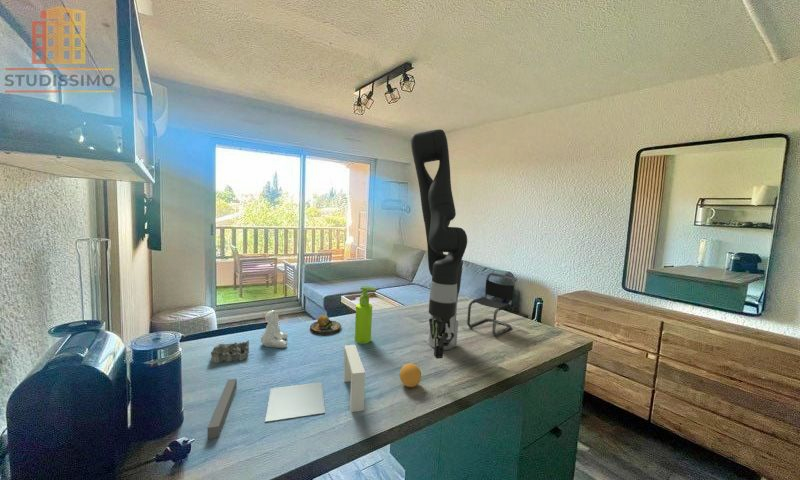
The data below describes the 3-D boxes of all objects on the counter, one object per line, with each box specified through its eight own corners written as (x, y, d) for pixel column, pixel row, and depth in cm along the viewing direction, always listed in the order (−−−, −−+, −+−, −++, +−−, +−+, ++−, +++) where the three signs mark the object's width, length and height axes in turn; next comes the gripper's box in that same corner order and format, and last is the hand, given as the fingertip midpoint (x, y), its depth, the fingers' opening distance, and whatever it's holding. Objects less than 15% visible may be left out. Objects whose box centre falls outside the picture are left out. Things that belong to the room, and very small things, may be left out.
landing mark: (321, 382, 84) (321, 382, 84) (325, 413, 72) (325, 412, 72) (270, 388, 80) (270, 388, 80) (264, 422, 68) (264, 421, 68)
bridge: (353, 377, 88) (355, 344, 87) (363, 410, 74) (365, 372, 73) (343, 378, 87) (344, 345, 86) (351, 412, 73) (352, 373, 72)
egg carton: (208, 365, 91) (208, 352, 90) (214, 354, 98) (214, 342, 97) (247, 361, 94) (247, 348, 94) (250, 350, 101) (250, 338, 101)
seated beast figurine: (287, 348, 103) (287, 314, 102) (259, 351, 100) (259, 316, 99) (287, 337, 112) (287, 305, 111) (261, 339, 109) (261, 306, 108)
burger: (345, 332, 119) (345, 314, 118) (315, 338, 113) (315, 318, 112) (334, 322, 129) (334, 305, 128) (306, 327, 123) (306, 309, 122)
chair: (514, 327, 133) (518, 278, 130) (493, 338, 121) (498, 283, 118) (487, 319, 142) (491, 272, 140) (466, 327, 130) (469, 276, 128)
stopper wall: (236, 387, 80) (236, 378, 80) (218, 437, 63) (218, 426, 63) (228, 388, 79) (228, 379, 79) (207, 439, 62) (207, 427, 62)
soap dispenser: (370, 344, 109) (373, 290, 107) (352, 342, 110) (354, 288, 108) (375, 338, 115) (377, 286, 113) (357, 335, 116) (359, 284, 114)
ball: (416, 378, 89) (417, 358, 88) (424, 390, 83) (425, 369, 83) (396, 380, 87) (397, 360, 87) (403, 393, 81) (404, 371, 81)
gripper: (466, 304, 80) (460, 368, 82) (445, 291, 93) (441, 346, 95) (439, 305, 78) (434, 369, 80) (422, 291, 91) (418, 347, 93)
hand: (438, 357), depth 87 cm, fingers closed
